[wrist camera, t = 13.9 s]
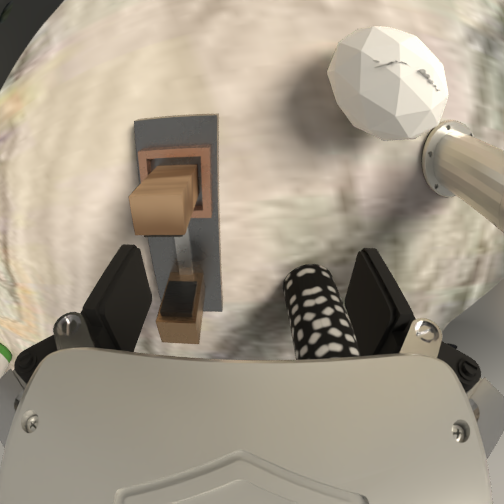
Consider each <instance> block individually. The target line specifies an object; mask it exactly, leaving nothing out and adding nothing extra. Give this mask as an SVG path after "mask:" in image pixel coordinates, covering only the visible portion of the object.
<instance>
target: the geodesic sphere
mask: <svg viewBox="0 0 504 504" xmlns="http://www.w3.org/2000/svg"><path fill="white" fill-rule="evenodd" d="M327 75H328V78H329V81H330V84H331V87H332V90H333V93H334V96H335V99H336V103H337V104H338V106H339V107H340V108H341V110H342V111H343V112H344V114H345V115H346V117H347V118H348V119H349V121H350V122H351V124H352V125H353V126H354V127H356V128H358V129H361V130H363V131H365V132H367V133H369V134H371V135H373V136H375V137H377V138H379V139H381V140H383V141H388V140H405V139H416V138H417V137H419V136H421V135H422V134H424V133H426V132H428V131H429V130H431V129H433V128H434V127H436V126H438V125H439V122H440V119H441V117H442V114H443V111H444V108H445V105H446V102H447V99H448V96H449V95H448V89H447V83H446V78H445V72H444V68H443V64H442V63H441V62H440V61H439V60H438V59H437V58H436V56H435V55H434V54H433V53H432V52H431V51H430V50H429V49H428V48H427V47H426V46H425V45H424V44H423V43H422V42H421V41H420V40H419V39H418V38H417V37H416V36H415V35H412V34H409V33H406V32H404V31H400V30H397V29H394V28H391V27H379V26H372V27H366V28H361V29H357V30H355V31H354V32H352V33H351V34H349V35H348V36H347V37H345V38H344V39H342V40H341V41H340V42H339V43H338V45H337V48H336V50H335V53H334V55H333V58H332V60H331V63H330V65H329V68H328V70H327Z"/></svg>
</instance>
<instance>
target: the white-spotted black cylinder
mask: <svg viewBox="0 0 504 504" xmlns="http://www.w3.org/2000/svg"><path fill="white" fill-rule="evenodd" d="M283 290H284V296H285V301H286V306H287V311H288V317H289V322H290V327H291V333H292V338H293V344H294V350H295V355H296V360H310V359H330V358H344V357H358V356H361V354H360V350H359V347H358V344H357V341H356V337H355V334H354V331H353V328H352V325H351V323H350V320H349V317H348V315H347V312H346V310H345V307H344V305H343V302H342V300H341V297H340V295H339V292H338V290H337V287H336V285H335V282H334V280H333V278H332V275H331V273H330V272H329V271H328V270H327V269H326V268H325V267H323V266H320V265H316V264H308V265H303V266H300V267H298V268H296V269H294V270H293V271H292V272H290V273H289V275H288V276H287V277H286V279H285V281H284V284H283Z"/></svg>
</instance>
